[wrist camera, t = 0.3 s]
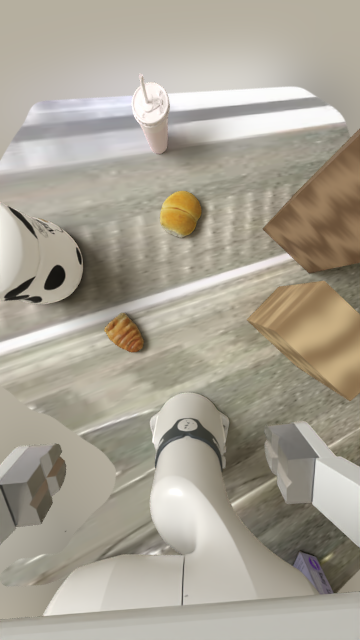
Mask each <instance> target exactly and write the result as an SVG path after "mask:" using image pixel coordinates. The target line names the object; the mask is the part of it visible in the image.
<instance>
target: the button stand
mask: <svg viewBox="0 0 360 640" xmlns="http://www.w3.org/2000/svg"><path fill="white" fill-rule="evenodd" d="M263 230H264V231H265V232H266V233H267V234H268V235H269V236H270V237H271V238H272V239H274V240H275V241H276V242H277V243H278V244H279V245H280V246H281V247H282V248H283V249H284V250H285V251H286V252H287V253H288V254H289V255H290V256H291V257H292V258H294V259H295V260H296V261H297V262H298V263H299V264H300V265H301V266H302V267H303V268H304V269H305V270H306V271H307V272H308V273H313V272H317V271H322V270H327V269H332V268H336V267H341V266H346V265H350V264H355V263H360V129H359V130H358V131H357V132H356V133H355V134H354V135H353V136H352V137H351V138H350V139H349V140H348V141H347V142H346V143H345V144H344V145H343V146H342V147H341V148H340V149H339V150H338V151H337V152H336V153H335V154H334V155H333V156H332V157H331V158H330V159H329V160H328V161H327V162H326V163H325V164H324V165H323V166H322V167H321V168H320V169H319V170H318V171H317V172H316V173H315V174H314V175H313V176H312V177H311V178H310V179H309V180H308V181H307V182H306V183H305V184H304V185H303V186H302V187H301V188H300V189H299V190H298V191H297V192H296V193H295V194H294V195H293V196H292V198H291V199H290V200H289V201H288V202H287V203H286V204H285V205H284V206H283V207H282V208H281V209H280V211H279V212H278V213H277V214H276V215H275V216H274V217H273V218H272V219H271V220H270V221H269V222H268V224H267V225H266V226H265V227H264V228H263Z"/></svg>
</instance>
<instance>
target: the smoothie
mask: <svg viewBox="0 0 360 640" xmlns="http://www.w3.org/2000/svg"><path fill="white" fill-rule="evenodd" d="M139 78H140V83H141V86H140V87H138V88H137V90H136V91H135V93H134V95H133V98H132V109H133V114H134V116H135V119H136V120H137V121H138V123H140V126H141V128H142V130H143V132H144V134H145V136H146V139H147V141H148V143H149V145H150V147H151V150H152V151H153V152H154V153H156V154H161V153H163V152H165V150H166V149H167V143H168V114H169V110H170V104H169V98H168V95H167V92H166V91H165V89H164V88H163V87H162V86H161V85H159V84H157V83H153V82H149V83H145V84H144V79H143V75H142V74H139Z"/></svg>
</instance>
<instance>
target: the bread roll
mask: <svg viewBox="0 0 360 640" xmlns="http://www.w3.org/2000/svg"><path fill="white" fill-rule="evenodd" d="M200 216H201V206H200V203H199V201H198V200H197V198H196V197H195V196H194V195H193V194H191V193H189V192H187V191H178V192H175V193H173V194H172V195H170V196H169V197H168V198H167V199H166V200H165V202H164V204H163V206H162V209H161V213H160V223H161V226H162V227H163V229H164V230H165V231H166V232H168V233H170V234H172V235H174V236H177V237H180V238H182V237H184V236H187V235H189V234H191V233H192V232H193V230H194V229H195V227H196V223H197V221H198V219H199V218H200Z"/></svg>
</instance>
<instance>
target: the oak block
mask: <svg viewBox="0 0 360 640" xmlns="http://www.w3.org/2000/svg"><path fill="white" fill-rule="evenodd" d="M247 321H248V322H249V323H250V324H252V325H253V326H254V327H255V328H256V329H257V330H258V331H259V332H260V333H261V334H262V335H263V336H264V337H266V338H267V339H268V340H269V341H270V342H271V343H272V344H273V345H274V346H275V347H276V348H277V349H278V350H279V351H281V352H282V353H283V354H284V355H285V356H286V357H287V358H288V359H289V360H290V361H291V362H292V363H293V364H295V365H296V366H297V367H298V368H299V369H301V370H302V371H304V372H306V373H307V374H309V375H310V376H312V377H313V378H315V379H316V380H318V381H320V382H321V383H323V384H324V385H326V386H327V387H329V388H330V389H332V390H333V391H335V392H337V393H338V394H340V395H341V396H343V397H344V398H346V399H347V400H349V401H351V400H352V399H353V398H354V397H356V396H357V395H358V394H359V393H360V314H359V313H358V312H357V311H356V310H355V309H353V308H352V307H351V306H350V305H349V304H348V303H347V302H346V301H345V300H344V299H343V298H342V297H341V296H340V295H339V294H338V293H337V292H336V291H335V290H334V289H332V288H331V287H330V286H329V285H328V284H327V283H326V282H325V281H319V282H312V283H304V284H297V285H289V286H281V287H278V288H277V289H276V290H275V291H274V292H273V293H272V294H271V295H270V296H269V297H268V298H267V299H266V300H265V302H264V303H263V304H262V305H261V306H260V307H259V308H258V309H257V310H256V311H255V312H254V313H253V314H252V315H251V316H250V317H249V318H248V319H247Z"/></svg>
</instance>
